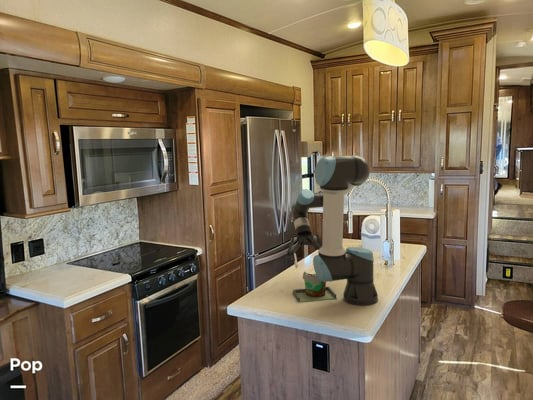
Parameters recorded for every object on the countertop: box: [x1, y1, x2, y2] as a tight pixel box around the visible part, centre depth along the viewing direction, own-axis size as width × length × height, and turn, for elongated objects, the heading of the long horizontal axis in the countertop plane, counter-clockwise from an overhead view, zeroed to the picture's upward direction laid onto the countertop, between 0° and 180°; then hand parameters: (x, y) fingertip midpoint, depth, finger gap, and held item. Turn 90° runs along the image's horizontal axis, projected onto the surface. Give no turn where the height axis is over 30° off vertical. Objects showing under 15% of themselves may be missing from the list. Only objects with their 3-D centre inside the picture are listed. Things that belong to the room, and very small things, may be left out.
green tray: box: [292, 286, 338, 303], centre depth 190 cm, size 12×18×2 cm, turn 98°
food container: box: [302, 271, 327, 297], centre depth 189 cm, size 12×6×10 cm, turn 53°
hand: (310, 265), depth 193 cm, fingers open, 13 cm apart
